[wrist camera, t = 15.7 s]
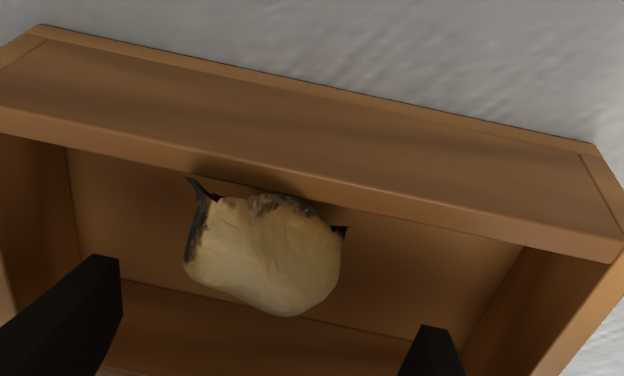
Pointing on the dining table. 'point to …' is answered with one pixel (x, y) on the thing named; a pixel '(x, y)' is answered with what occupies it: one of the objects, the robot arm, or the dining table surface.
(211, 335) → the box
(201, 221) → the nut kernel
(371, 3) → the dining table surface
